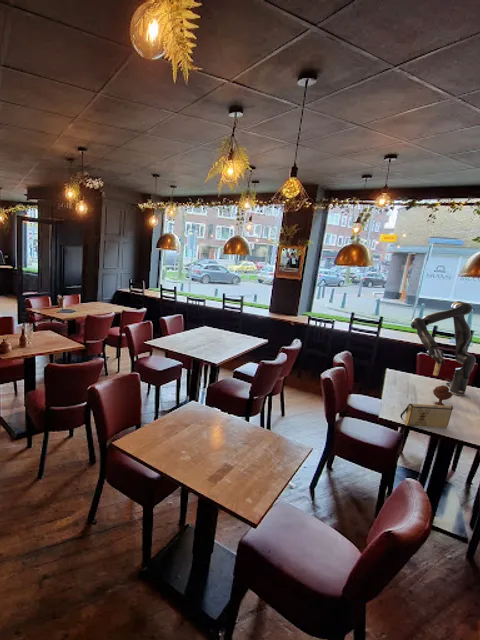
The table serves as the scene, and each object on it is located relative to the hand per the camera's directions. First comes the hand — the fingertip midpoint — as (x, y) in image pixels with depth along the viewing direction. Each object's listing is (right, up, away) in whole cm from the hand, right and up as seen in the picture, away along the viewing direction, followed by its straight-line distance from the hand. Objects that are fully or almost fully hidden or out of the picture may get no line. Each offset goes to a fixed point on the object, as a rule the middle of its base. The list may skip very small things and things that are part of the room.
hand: (441, 363), depth 244 cm
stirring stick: (-1, -9, +4) cm, 10 cm away
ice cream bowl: (0, -30, +2) cm, 30 cm away
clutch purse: (-38, -35, -31) cm, 60 cm away
